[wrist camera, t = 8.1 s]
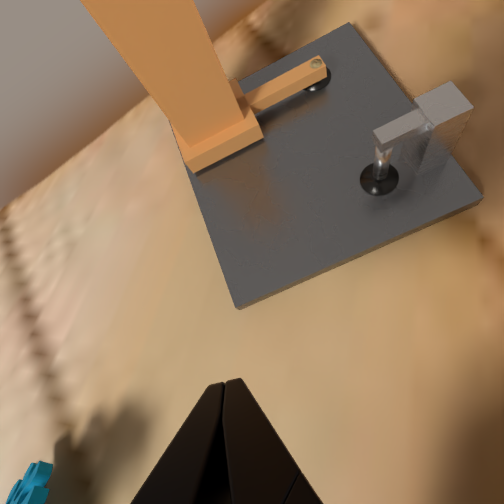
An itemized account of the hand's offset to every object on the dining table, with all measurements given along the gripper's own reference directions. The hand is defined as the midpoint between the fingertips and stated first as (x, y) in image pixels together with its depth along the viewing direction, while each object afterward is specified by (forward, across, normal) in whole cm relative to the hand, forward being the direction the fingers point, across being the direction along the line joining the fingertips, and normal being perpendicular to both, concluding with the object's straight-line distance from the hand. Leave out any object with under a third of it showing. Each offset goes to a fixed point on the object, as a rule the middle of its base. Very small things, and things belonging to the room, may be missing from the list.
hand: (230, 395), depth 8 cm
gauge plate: (+19, -6, -4) cm, 20 cm away
